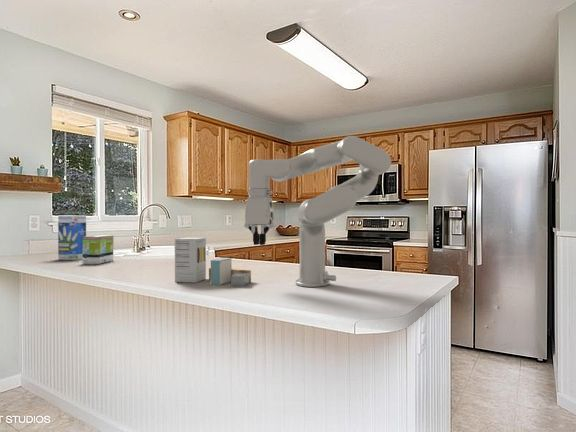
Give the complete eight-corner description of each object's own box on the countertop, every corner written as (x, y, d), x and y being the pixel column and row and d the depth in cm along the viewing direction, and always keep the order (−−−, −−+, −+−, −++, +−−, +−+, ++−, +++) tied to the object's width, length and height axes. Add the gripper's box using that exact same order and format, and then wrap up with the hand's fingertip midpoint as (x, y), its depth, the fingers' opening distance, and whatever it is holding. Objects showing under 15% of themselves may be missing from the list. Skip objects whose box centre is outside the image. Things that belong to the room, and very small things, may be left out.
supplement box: (196, 283, 146) (196, 238, 145) (174, 282, 147) (173, 238, 147) (206, 278, 155) (206, 237, 155) (185, 278, 157) (185, 237, 157)
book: (231, 281, 148) (231, 258, 148) (220, 285, 141) (219, 260, 141) (222, 280, 150) (222, 257, 150) (210, 284, 143) (210, 260, 143)
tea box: (100, 264, 202) (100, 236, 202) (81, 264, 202) (81, 236, 202) (114, 260, 217) (113, 234, 217) (96, 260, 217) (96, 234, 217)
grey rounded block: (249, 283, 146) (249, 272, 146) (244, 287, 138) (244, 276, 138) (236, 282, 146) (236, 272, 146) (231, 287, 138) (231, 276, 138)
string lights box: (57, 259, 222) (57, 215, 222) (67, 258, 230) (66, 215, 230) (78, 260, 220) (77, 215, 220) (87, 258, 228) (86, 215, 228)
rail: (250, 281, 147) (250, 270, 147) (249, 282, 146) (249, 270, 146) (210, 278, 154) (210, 267, 154) (208, 279, 153) (208, 268, 153)
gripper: (283, 193, 139) (283, 244, 139) (245, 195, 145) (245, 243, 146) (274, 193, 132) (274, 246, 132) (234, 194, 138) (235, 244, 139)
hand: (259, 244), depth 139 cm, fingers closed
